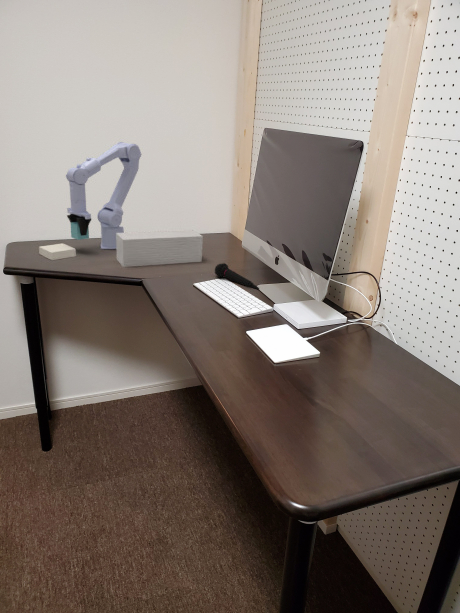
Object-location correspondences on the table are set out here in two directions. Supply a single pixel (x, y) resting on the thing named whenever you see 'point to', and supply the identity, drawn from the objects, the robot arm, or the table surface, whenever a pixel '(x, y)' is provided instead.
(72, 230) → the teal block
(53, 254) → the cream plinth
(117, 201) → the robot arm
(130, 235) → the stack of papers
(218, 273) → the microphone
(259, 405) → the table surface
